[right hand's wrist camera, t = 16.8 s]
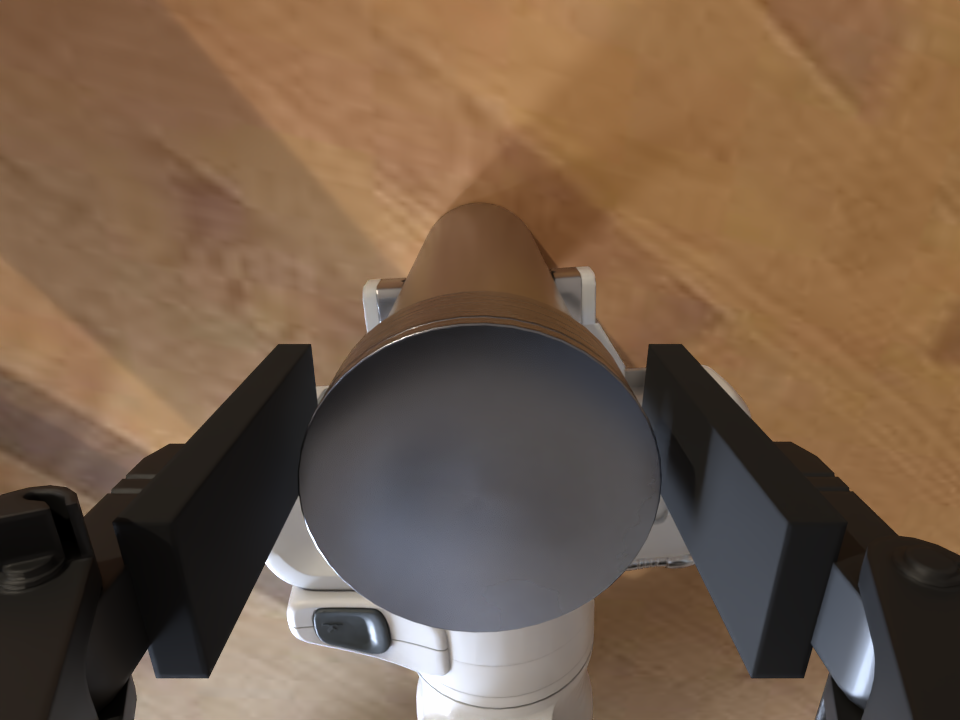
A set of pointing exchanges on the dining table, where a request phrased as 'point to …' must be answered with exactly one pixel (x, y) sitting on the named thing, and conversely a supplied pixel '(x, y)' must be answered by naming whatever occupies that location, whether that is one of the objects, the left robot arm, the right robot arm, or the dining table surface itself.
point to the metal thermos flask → (479, 259)
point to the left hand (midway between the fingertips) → (476, 275)
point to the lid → (479, 465)
